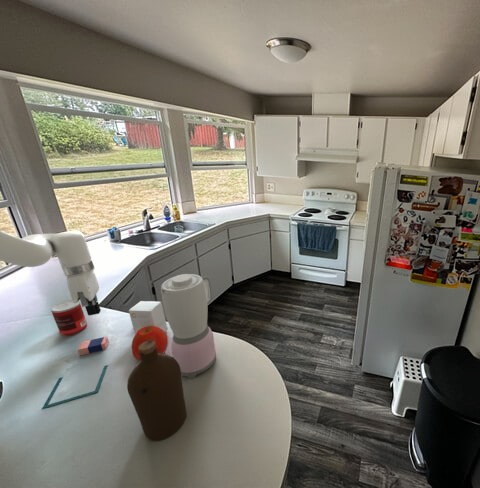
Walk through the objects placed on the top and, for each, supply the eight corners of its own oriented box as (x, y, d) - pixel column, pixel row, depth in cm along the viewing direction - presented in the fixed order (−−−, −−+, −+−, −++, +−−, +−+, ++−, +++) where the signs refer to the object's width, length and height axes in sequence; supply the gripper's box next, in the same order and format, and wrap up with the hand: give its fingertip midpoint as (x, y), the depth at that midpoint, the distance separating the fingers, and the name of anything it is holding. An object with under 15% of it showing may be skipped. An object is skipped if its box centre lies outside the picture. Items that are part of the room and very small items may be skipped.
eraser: (79, 355, 84) (77, 349, 84) (84, 347, 88) (81, 341, 87) (106, 349, 88) (104, 343, 87) (109, 341, 91) (107, 336, 90)
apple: (172, 340, 93) (167, 317, 89) (165, 361, 84) (159, 335, 80) (140, 346, 90) (133, 321, 86) (129, 368, 80) (121, 342, 77)
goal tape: (42, 409, 67) (41, 408, 67) (59, 378, 76) (59, 378, 76) (97, 392, 72) (97, 391, 72) (107, 365, 81) (107, 365, 81)
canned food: (84, 320, 102) (76, 297, 98) (90, 328, 97) (82, 304, 94) (58, 330, 96) (48, 305, 92) (63, 339, 91) (53, 313, 88)
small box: (168, 329, 98) (161, 301, 94) (157, 341, 92) (150, 311, 88) (147, 329, 98) (140, 300, 94) (135, 340, 92) (127, 310, 88)
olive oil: (194, 423, 65) (179, 346, 56) (146, 454, 58) (120, 372, 50) (182, 395, 72) (167, 324, 64) (138, 420, 65) (114, 343, 57)
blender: (195, 384, 76) (177, 292, 65) (166, 371, 80) (145, 283, 69) (231, 349, 90) (222, 269, 79) (205, 340, 94) (193, 262, 83)
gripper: (72, 261, 89) (88, 305, 95) (53, 279, 76) (73, 328, 83) (99, 257, 92) (112, 300, 98) (85, 274, 79) (102, 322, 86)
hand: (94, 313), depth 90 cm, fingers closed
